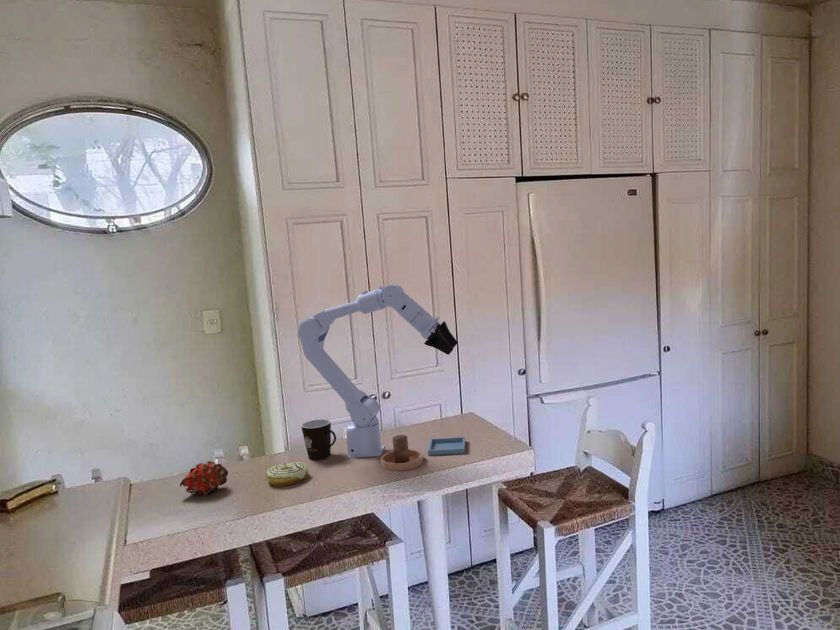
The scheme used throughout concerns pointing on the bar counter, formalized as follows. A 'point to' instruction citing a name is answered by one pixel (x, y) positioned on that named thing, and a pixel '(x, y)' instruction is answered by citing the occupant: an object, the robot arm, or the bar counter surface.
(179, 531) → the bar counter surface
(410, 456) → the terracotta bowl
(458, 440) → the slate tray
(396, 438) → the walnut cylinder
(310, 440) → the coffee mug
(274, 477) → the decorated donut
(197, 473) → the dragon fruit
